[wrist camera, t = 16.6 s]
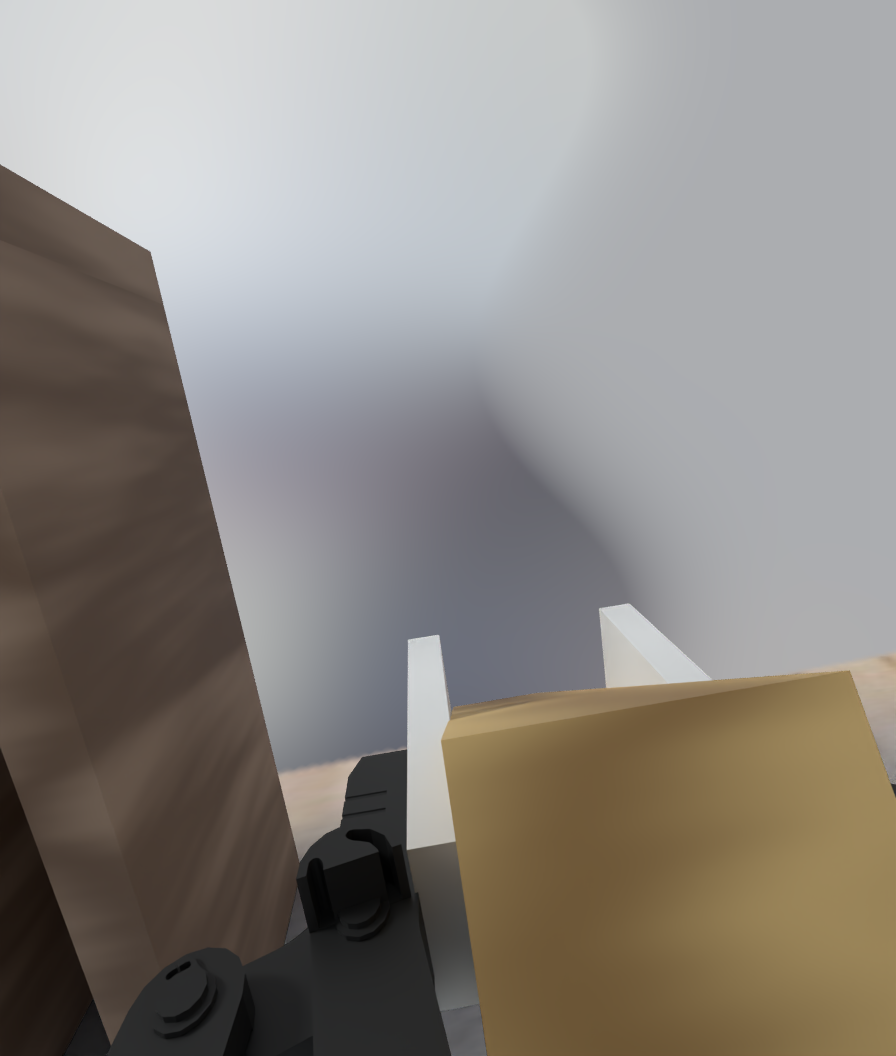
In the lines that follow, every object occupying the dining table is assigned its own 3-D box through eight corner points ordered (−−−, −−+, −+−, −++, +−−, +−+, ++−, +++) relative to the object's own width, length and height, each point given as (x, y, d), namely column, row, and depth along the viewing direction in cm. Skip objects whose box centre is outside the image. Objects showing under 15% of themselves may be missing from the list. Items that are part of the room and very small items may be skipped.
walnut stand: (-97, 1244, 17) (-688, 155, 10) (107, 903, 29) (-106, 286, 22) (229, 1181, 18) (-131, 88, 11) (301, 869, 29) (150, 252, 22)
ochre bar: (525, 1312, 4) (440, 740, 5) (468, 799, 25) (453, 707, 26) (1043, 1209, 4) (850, 669, 5) (555, 783, 25) (537, 693, 26)
